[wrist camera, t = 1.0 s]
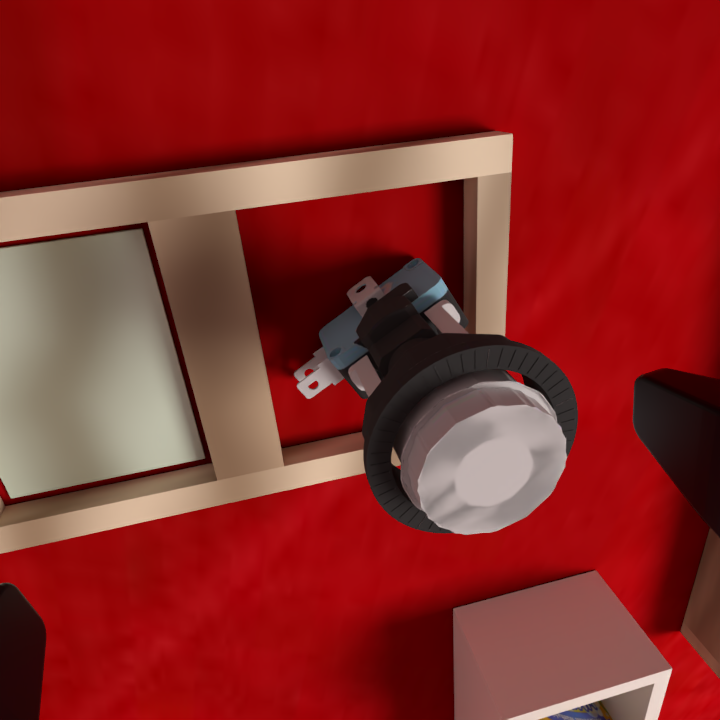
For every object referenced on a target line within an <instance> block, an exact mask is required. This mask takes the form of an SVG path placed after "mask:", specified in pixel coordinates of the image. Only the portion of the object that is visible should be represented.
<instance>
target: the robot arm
mask: <svg viewBox="0 0 720 720" xmlns="http://www.w3.org/2000/svg"><path fill="white" fill-rule="evenodd" d="M633 424H634V428H635V431H636V433H637V435H638V437H639V438H640V439H641V441H642V442H643V443H644V445H645V446H646V447H647V449H648V450H649V451H650V452H651V454H652V455H653V456H654V458H655V459H656V460H657V462H658V463H659V464H660V465H661V467H662V468H663V469H664V471H665V472H666V473H667V475H668V476H669V477H670V478H671V480H672V481H673V482H674V484H675V485H676V486H677V488H678V489H679V490H680V491H681V493H682V494H683V495H684V497H685V498H686V499H687V501H688V502H689V503H690V504H691V506H692V507H693V508H694V509H695V511H696V512H697V513H698V514H699V515H700V517H701V518H702V519H703V520H704V521H705V522H706V524H707V525H708V526H709V527H710V528H711V529H712V530H713V531H714V533H715V534H716V535H717V536H718V537H719V538H720V380H719V379H715V378H710V377H705V376H701V375H696V374H691V373H687V372H682V371H677V370H673V369H668V368H662V369H658V370H655V371H652V372H649V373H646V374H643V375H641V376H639V377H638V378H637V379H636V381H635V384H634V405H633ZM45 647H46V629H45V625H44V622H43V620H42V618H41V617H40V616H39V614H38V613H37V612H36V611H35V609H34V608H33V607H32V606H31V604H30V603H29V602H28V601H27V599H26V598H25V597H24V596H23V594H22V593H21V592H20V591H19V589H18V588H17V587H16V586H15V585H13V584H11V583H1V584H0V720H39V715H40V703H41V692H42V681H43V670H44V658H45Z"/></svg>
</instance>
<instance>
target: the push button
mask: <svg viewBox="0 0 720 720" xmlns="http://www.w3.org/2000/svg"><path fill="white" fill-rule="evenodd" d="M364 285H366V287H365V289H364V290H362V291H361V292H359V293H356V292H357V290H358V289H359V288H360V287H362V286H364ZM347 296H348V297H349V299H350V301H351V302H352V304H353V305H352V306H351V307H350V308H348V309H347V310H346V311H344V312H343V313H342V314H340V315H339V316H338V317H336V318H335V319H334V320H332V321H331V322H330V323H328V324H327V325H326V326H324V327H323V328H322V329H321V330H320V332H319V337H320V340H321V342H322V345H323V347H321V348H320V349H319V350H317V351H316V352H315V353H313V355H314V356H315V357H314V358H313V359H311V360H310V361H309V362H307V363H306V364H304V365H303V366H302V367H300V368H299V369H298V370H296V371H295V372H294V376H295V377H296V378H297V379H298V381H299V383H297V388H298V389H299V390H300V391H301V392H302V393H303V394H304V395H305V396H306V398H309V399H311V398H312V397H313V396H315V395H316V394H317V393H319V392H320V391H321V390H323V389H324V388H326V387H327V386H328V385H330V384H331V383H333V384H334V385H336V384H337V383H338V382H340V381H341V380H343V379H344V378H345V379H346V380H347V381H348V383H349V384H350V385H351V386H352V387H353V388H354V390H355V391H356V392H357V393H358V394H359V396H360V397H361V398H363V399H367V398H368V400H367V402H366V407H365V414H364V420H363V427H362V435H363V438H364V448H363V461H364V468H365V472H366V476H367V479H368V482H369V484H370V487H371V489H372V492H373V494H374V496H375V498H376V499H377V501H378V502H379V504H380V505H381V506H382V507H383V509H384V510H385V511H386V512H387V513H388V514H390V515H391V516H392V517H393V518H395V519H396V520H398V521H399V522H401V523H403V524H405V525H407V526H409V527H412V528H415V529H418V530H422V531H426V532H433V533H461V534H465V535H468V534H476V533H489V532H493V531H498V530H500V529H502V528H504V527H506V526H508V525H510V524H512V523H514V522H516V521H518V520H521V519H523V518H525V517H527V516H528V515H529V514H530V513H531V512H532V511H533V510H534V509H535V508H536V507H537V506H539V505H540V504H541V503H542V502H543V501H544V500H545V499H546V498H547V497H548V496H549V495H550V494H551V493H552V491H553V490H554V488H555V486H556V483H557V481H558V479H559V477H560V476H561V474H562V472H563V470H564V468H565V461H566V459H567V456H568V454H569V452H570V450H571V447H572V444H573V442H574V438H575V434H576V429H577V421H578V410H577V402H576V397H575V394H574V391H573V388H572V386H571V384H570V382H569V380H568V378H567V377H566V376H565V374H564V373H563V372H562V370H561V369H560V368H559V367H558V366H557V365H556V364H555V363H553V362H552V361H551V360H550V359H549V358H547V357H546V356H545V355H543V354H542V353H541V352H539V351H537V350H535V349H534V348H532V347H530V346H527V345H525V344H522V343H518V342H514V341H510V340H509V339H507V338H506V337H505V336H503V335H499V334H469V333H468V332H467V331H466V330H465V328H466V327H467V325H468V323H469V321H468V319H467V317H466V316H465V314H464V313H463V311H462V310H461V308H460V307H459V305H458V303H457V302H456V300H455V299H454V297H453V296H452V294H451V292H450V291H449V289H448V288H447V286H446V285H445V283H444V281H443V280H442V278H441V277H440V276H439V275H438V274H437V273H436V272H435V271H434V270H433V269H431V268H430V267H429V266H428V265H427V264H426V263H424V262H423V261H422V260H421V259H420V258H416V259H413V260H412V261H410V262H409V263H407V264H406V265H405V266H403V268H402V269H401V270H399V271H398V272H397V273H395V274H394V275H393V276H391V277H390V278H389V279H387V280H386V281H385V282H383V283H382V284H381V285H379V286H378V285H377V284H376V282H375V281H374V280H373V279H372V277H371V276H369V277H365V278H364V279H363V280H361V281H360V282H359V283H357V284H356V285H355V286H353V287H352V288H351V289H349V291H348V292H347ZM307 369H313V370H314V372H312V373H311V374H310V375H308V376H307V377H306V376H305V375H304V372H305V371H306V370H307ZM506 370H510V371H514V372H518V373H520V374H522V377H523V380H524V384H525V385H523V384H521V383H518V382H517V381H516V380H515V379H514V378H513V377H512V376H511V375H510V374H509V373H508V372H507V371H506ZM315 380H316V381H317V382H318V386H317V387H316V388H314V389H310V388H309V387H308V386H309V385H310V384H311V383H313V382H314V381H315ZM393 448H394V450H395V452H396V454H397V456H398V458H399V460H400V462H401V470H400V469H398V468H397V467H395V466H394V465H393V464H392V463H391V455H392V449H393Z"/></svg>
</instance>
